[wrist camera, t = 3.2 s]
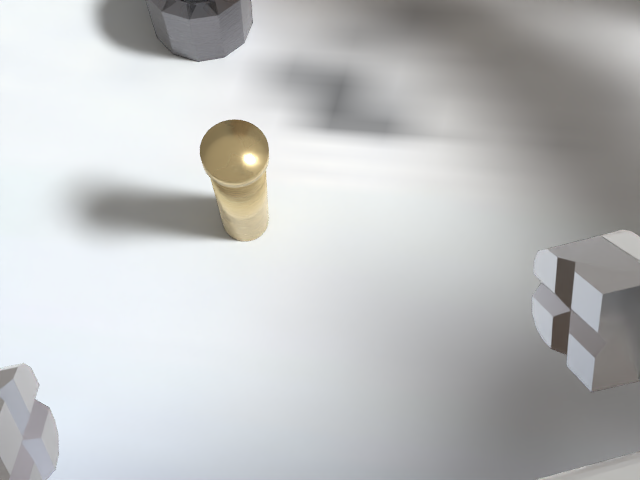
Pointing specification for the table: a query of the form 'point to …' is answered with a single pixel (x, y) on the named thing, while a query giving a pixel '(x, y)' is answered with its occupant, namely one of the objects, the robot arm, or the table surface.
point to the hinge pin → (238, 176)
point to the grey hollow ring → (201, 26)
